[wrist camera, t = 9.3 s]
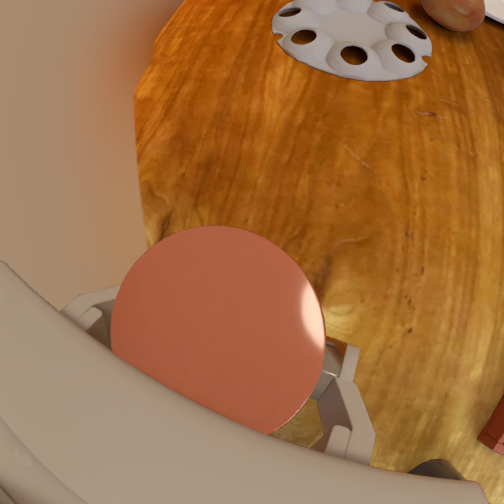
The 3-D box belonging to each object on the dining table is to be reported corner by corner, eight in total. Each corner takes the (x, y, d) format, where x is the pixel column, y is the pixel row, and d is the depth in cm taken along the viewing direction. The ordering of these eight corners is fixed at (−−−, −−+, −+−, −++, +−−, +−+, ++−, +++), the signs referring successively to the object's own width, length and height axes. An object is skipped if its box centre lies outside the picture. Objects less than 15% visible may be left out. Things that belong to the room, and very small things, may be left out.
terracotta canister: (247, 393, 16) (177, 472, 6) (196, 312, 17) (82, 297, 8) (332, 342, 16) (371, 374, 6) (277, 259, 17) (242, 183, 8)
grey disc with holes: (441, 101, 23) (448, 89, 21) (256, 68, 27) (253, 55, 25) (419, 9, 26) (421, -1, 24) (285, -11, 30) (283, -22, 28)
